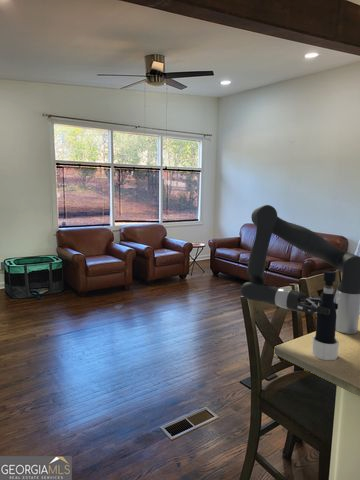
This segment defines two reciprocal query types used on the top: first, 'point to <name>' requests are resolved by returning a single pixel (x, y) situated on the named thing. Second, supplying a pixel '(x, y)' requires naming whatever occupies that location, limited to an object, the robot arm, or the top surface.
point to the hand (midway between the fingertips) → (333, 309)
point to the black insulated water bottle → (328, 322)
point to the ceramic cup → (325, 349)
